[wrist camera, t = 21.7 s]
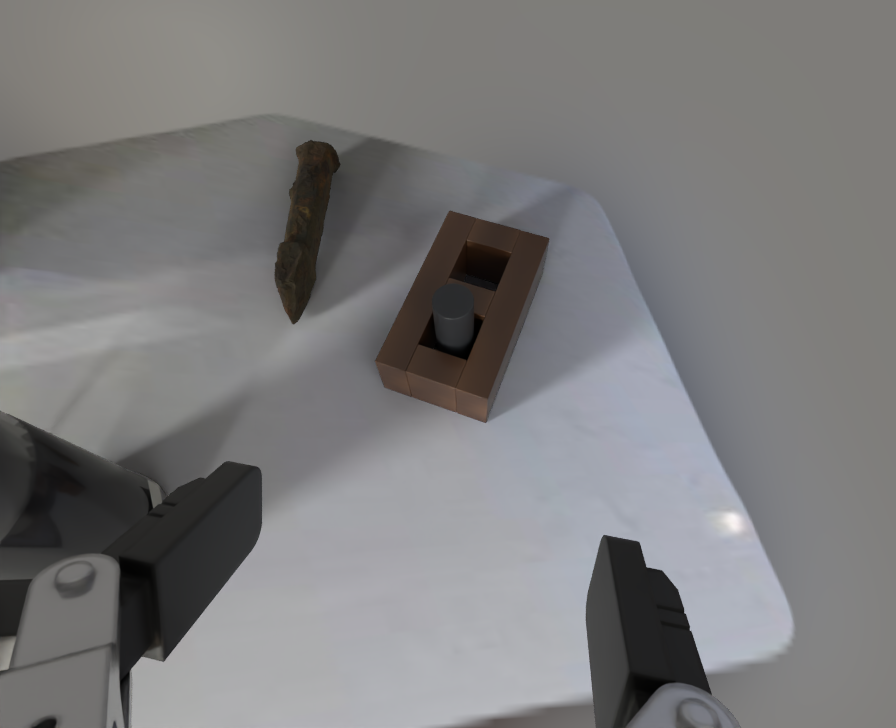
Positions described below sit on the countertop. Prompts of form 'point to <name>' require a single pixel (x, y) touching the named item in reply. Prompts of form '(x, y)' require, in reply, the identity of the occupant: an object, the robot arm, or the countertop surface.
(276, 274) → the hand tool
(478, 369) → the holder
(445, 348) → the dark grey cylinder
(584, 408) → the countertop surface
